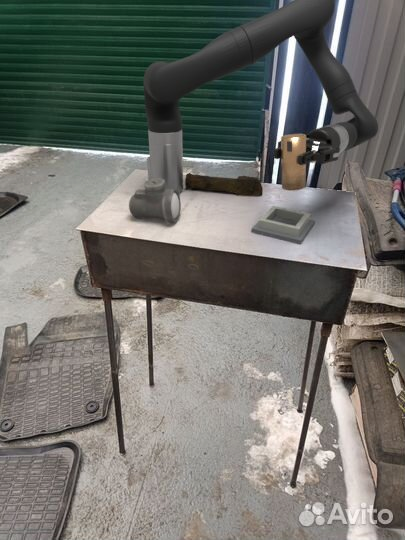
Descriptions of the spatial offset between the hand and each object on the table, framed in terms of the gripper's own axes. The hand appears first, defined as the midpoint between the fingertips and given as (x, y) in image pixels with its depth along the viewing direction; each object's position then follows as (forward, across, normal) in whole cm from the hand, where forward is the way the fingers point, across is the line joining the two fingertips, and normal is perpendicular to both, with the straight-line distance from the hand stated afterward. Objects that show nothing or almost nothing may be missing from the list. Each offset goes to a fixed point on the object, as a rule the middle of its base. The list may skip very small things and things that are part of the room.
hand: (288, 157), depth 81 cm
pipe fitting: (+16, -26, +18) cm, 36 cm away
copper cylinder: (-2, +1, +7) cm, 7 cm away
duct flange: (-2, 0, +18) cm, 18 cm away
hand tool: (-11, -26, +18) cm, 34 cm away
